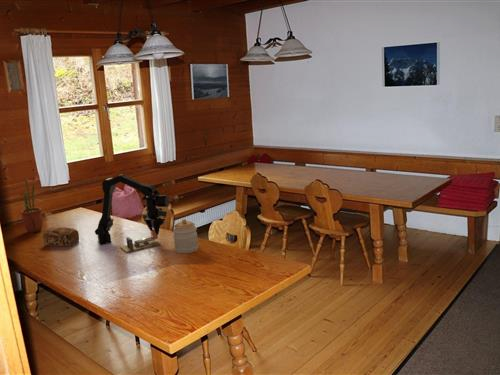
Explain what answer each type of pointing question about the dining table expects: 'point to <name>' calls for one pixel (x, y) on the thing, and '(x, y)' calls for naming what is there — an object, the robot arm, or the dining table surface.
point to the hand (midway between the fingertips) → (154, 232)
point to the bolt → (153, 237)
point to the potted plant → (31, 213)
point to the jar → (185, 237)
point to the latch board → (138, 245)
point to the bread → (60, 236)
